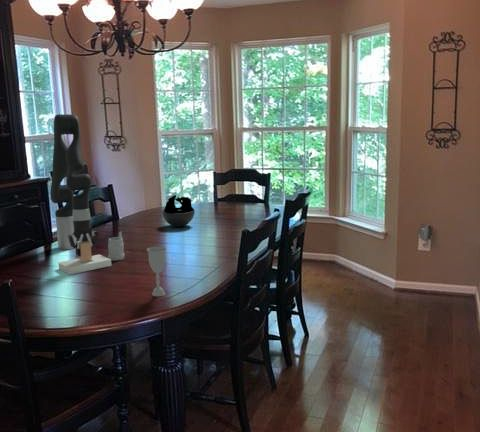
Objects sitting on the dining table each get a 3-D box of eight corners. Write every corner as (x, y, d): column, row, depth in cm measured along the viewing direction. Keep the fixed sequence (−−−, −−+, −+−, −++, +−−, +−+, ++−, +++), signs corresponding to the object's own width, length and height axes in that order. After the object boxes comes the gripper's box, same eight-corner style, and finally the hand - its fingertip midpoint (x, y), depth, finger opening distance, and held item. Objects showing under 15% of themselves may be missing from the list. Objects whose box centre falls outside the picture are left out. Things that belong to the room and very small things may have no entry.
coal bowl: (193, 229, 308) (192, 199, 305) (160, 230, 309) (158, 199, 305) (196, 223, 328) (195, 193, 324) (165, 223, 328) (164, 194, 325)
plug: (78, 259, 234) (76, 240, 233) (87, 257, 237) (86, 239, 236) (82, 261, 231) (80, 242, 229) (91, 259, 234) (90, 240, 232)
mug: (105, 260, 246) (104, 236, 243) (116, 253, 257) (114, 230, 255) (120, 261, 244) (119, 236, 242) (130, 254, 256) (129, 231, 253)
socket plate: (58, 268, 233) (58, 262, 232) (100, 260, 246) (99, 254, 245) (69, 274, 224) (68, 268, 223) (111, 265, 237) (111, 259, 236)
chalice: (168, 290, 201) (167, 246, 198) (167, 296, 195) (165, 251, 191) (150, 291, 201) (147, 246, 198) (147, 297, 195) (145, 251, 191)
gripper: (93, 215, 238) (95, 250, 241) (62, 219, 229) (66, 256, 232) (100, 217, 232) (102, 254, 235) (69, 221, 223) (72, 259, 226)
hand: (84, 255), depth 234 cm, fingers closed on plug, 4 cm apart
